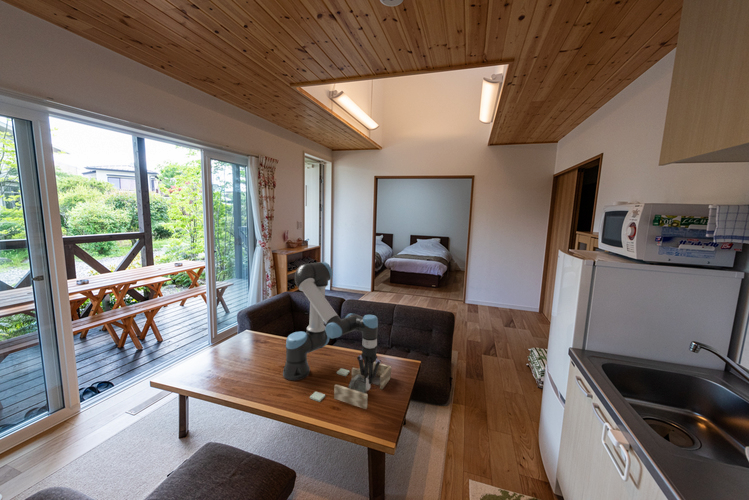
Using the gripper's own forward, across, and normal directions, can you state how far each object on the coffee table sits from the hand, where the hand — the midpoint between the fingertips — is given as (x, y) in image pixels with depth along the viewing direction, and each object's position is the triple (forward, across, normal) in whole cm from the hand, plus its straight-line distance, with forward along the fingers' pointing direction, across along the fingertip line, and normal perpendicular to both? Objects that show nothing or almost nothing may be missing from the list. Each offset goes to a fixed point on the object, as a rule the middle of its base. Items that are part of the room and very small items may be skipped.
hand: (367, 388), depth 148 cm
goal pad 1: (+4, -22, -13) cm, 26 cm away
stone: (+4, -6, 0) cm, 7 cm away
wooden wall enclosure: (+4, -5, +6) cm, 8 cm away
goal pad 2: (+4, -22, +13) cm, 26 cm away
